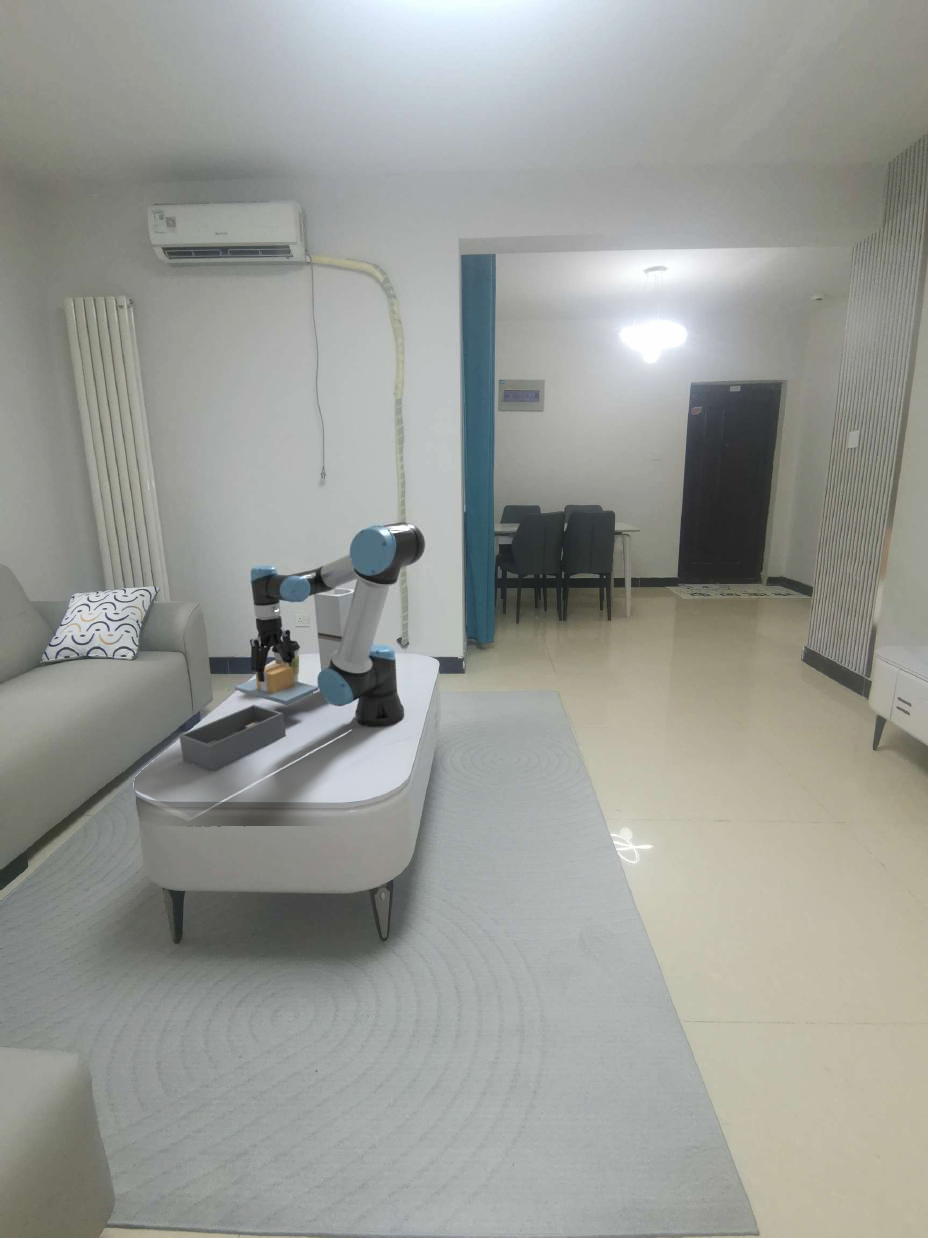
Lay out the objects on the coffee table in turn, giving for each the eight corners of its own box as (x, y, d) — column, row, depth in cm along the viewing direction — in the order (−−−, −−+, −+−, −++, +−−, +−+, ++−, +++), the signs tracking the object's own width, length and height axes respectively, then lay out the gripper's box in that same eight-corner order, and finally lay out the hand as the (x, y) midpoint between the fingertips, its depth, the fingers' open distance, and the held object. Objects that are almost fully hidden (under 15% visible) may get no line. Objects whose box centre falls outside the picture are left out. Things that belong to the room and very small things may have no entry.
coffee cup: (278, 689, 210) (273, 649, 207) (273, 681, 219) (269, 642, 215) (306, 684, 215) (302, 645, 211) (300, 676, 223) (296, 638, 220)
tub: (286, 738, 171) (283, 713, 169) (213, 775, 152) (209, 746, 150) (256, 729, 178) (253, 704, 176) (183, 763, 159) (179, 735, 157)
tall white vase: (367, 685, 212) (360, 590, 203) (346, 695, 203) (338, 596, 194) (343, 680, 218) (336, 587, 209) (322, 689, 209) (313, 593, 200)
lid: (267, 680, 198) (265, 657, 196) (318, 692, 186) (316, 668, 184) (235, 692, 188) (232, 668, 186) (286, 707, 175) (284, 681, 173)
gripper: (248, 626, 170) (257, 699, 176) (302, 610, 187) (309, 678, 193) (231, 623, 174) (240, 694, 180) (286, 608, 191) (293, 674, 197)
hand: (276, 686), depth 186 cm, fingers closed on lid, 8 cm apart
